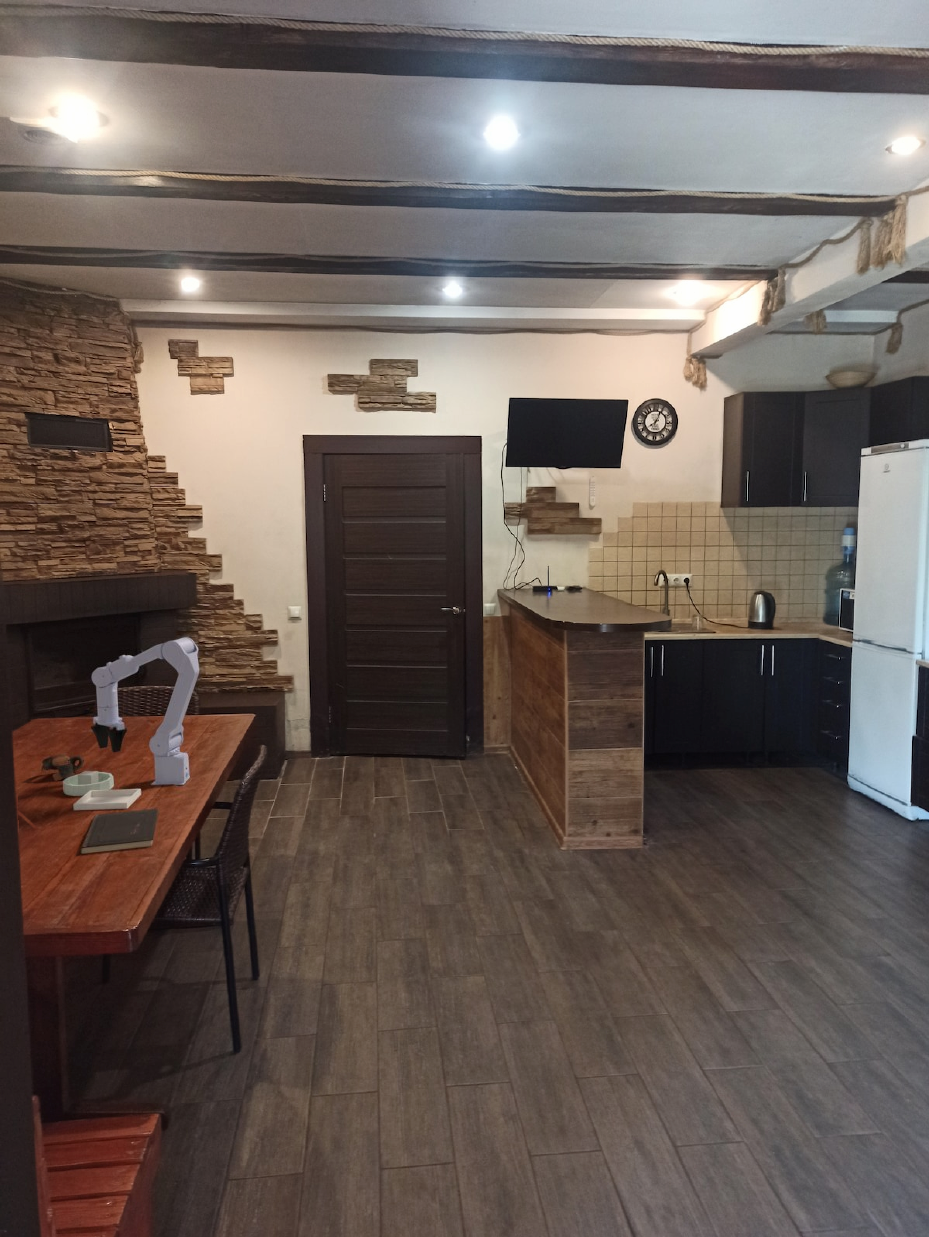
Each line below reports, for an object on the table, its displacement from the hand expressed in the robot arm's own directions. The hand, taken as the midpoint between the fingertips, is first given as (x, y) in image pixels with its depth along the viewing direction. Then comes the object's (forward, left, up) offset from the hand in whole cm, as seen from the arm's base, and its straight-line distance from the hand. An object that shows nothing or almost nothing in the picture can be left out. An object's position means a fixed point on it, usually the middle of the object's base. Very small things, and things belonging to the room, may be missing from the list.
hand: (109, 749), depth 246 cm
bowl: (+3, +10, -9) cm, 14 cm away
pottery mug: (+16, -6, -10) cm, 20 cm away
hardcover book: (-18, +46, -10) cm, 51 cm away
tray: (-7, +23, -9) cm, 26 cm away
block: (+3, +10, -9) cm, 14 cm away
